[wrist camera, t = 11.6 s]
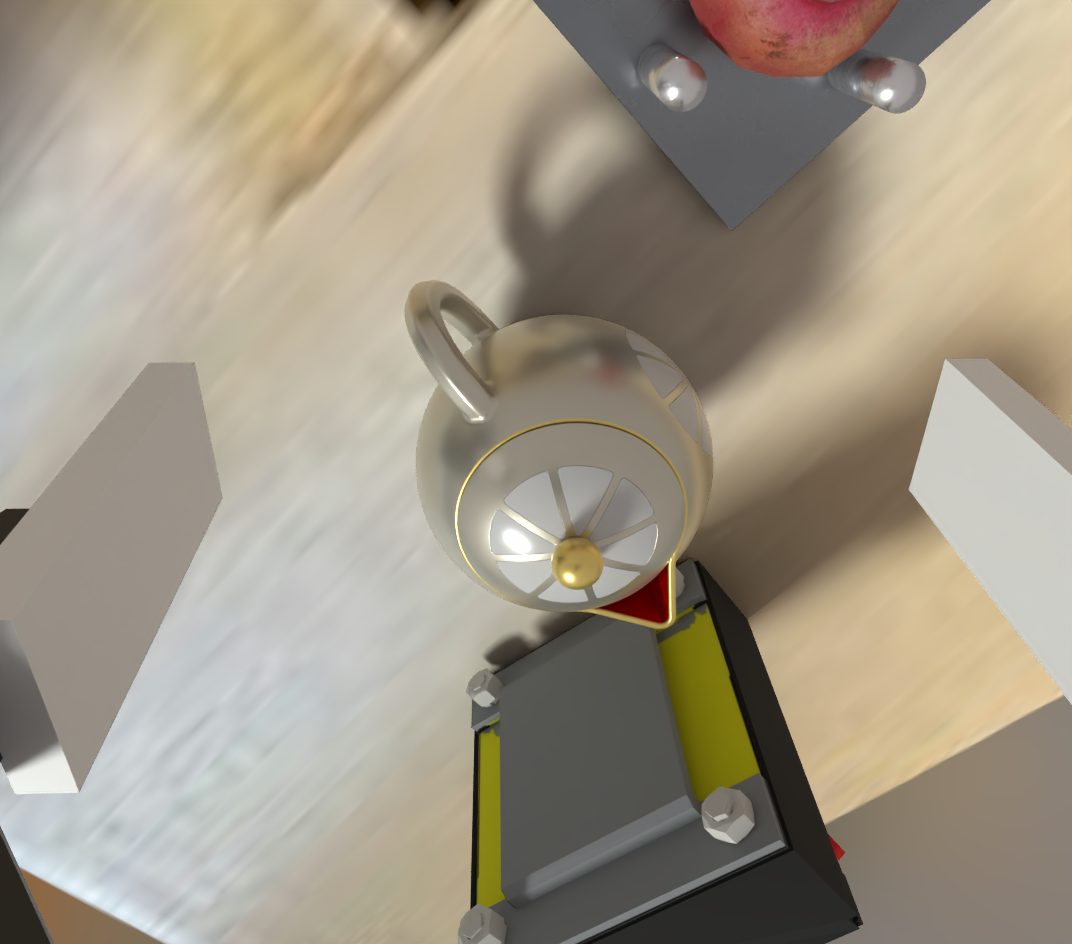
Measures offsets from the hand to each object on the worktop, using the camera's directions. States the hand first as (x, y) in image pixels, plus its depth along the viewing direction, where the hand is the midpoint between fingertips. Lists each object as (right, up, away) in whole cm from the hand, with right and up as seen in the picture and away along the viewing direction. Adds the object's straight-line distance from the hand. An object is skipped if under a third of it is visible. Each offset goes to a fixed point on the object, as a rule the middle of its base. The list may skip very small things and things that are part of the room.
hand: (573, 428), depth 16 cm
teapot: (-1, +5, +31) cm, 31 cm away
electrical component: (+4, -13, +42) cm, 44 cm away
